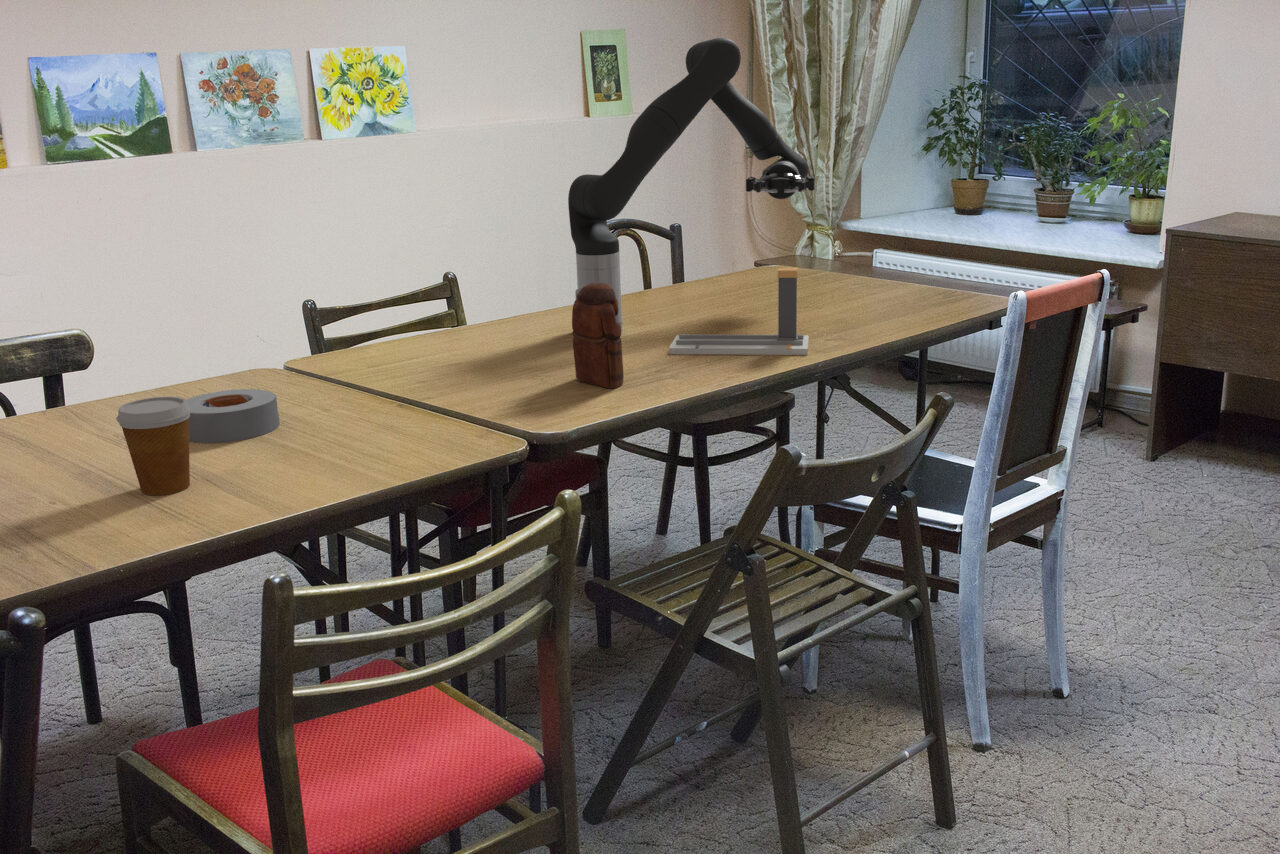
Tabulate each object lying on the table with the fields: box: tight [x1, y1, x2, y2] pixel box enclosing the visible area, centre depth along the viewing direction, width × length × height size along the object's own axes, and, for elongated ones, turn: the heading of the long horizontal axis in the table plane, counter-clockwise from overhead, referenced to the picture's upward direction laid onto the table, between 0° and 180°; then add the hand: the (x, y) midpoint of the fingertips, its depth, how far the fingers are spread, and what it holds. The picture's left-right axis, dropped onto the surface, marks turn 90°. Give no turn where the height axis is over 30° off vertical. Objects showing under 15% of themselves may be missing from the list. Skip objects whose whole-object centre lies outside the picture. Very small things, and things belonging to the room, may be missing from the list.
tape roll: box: [185, 388, 281, 444], centre depth 188 cm, size 15×15×5 cm
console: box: [668, 333, 810, 356], centre depth 233 cm, size 27×13×2 cm, turn 81°
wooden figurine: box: [571, 283, 625, 389], centre depth 208 cm, size 12×6×18 cm, turn 43°
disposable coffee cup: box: [116, 396, 191, 496], centre depth 160 cm, size 10×10×12 cm
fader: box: [777, 267, 799, 340], centre depth 229 cm, size 4×4×14 cm
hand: (779, 186), depth 239 cm, fingers open, 8 cm apart
